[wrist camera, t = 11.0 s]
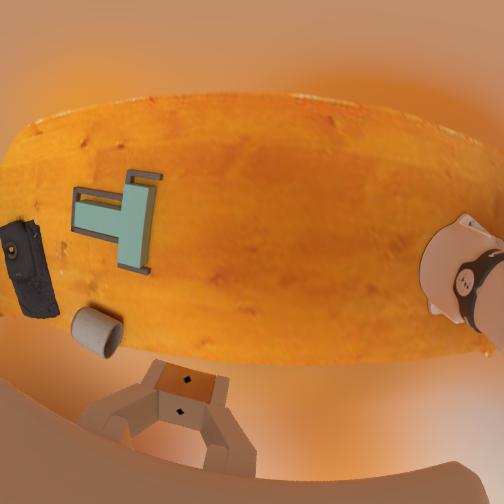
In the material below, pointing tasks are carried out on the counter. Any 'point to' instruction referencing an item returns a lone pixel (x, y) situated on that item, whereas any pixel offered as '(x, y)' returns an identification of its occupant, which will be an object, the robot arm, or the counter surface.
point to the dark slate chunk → (29, 269)
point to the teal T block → (122, 221)
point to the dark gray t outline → (115, 196)
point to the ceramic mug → (96, 331)
